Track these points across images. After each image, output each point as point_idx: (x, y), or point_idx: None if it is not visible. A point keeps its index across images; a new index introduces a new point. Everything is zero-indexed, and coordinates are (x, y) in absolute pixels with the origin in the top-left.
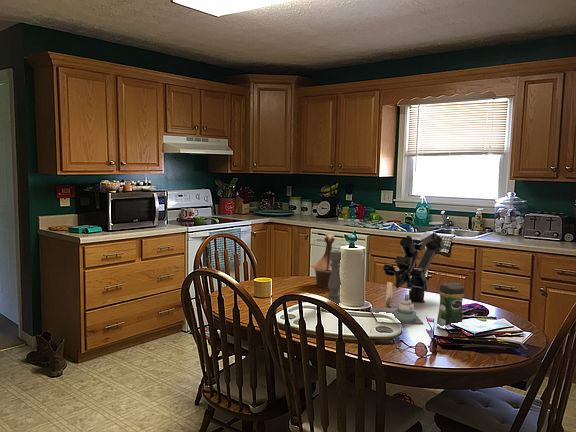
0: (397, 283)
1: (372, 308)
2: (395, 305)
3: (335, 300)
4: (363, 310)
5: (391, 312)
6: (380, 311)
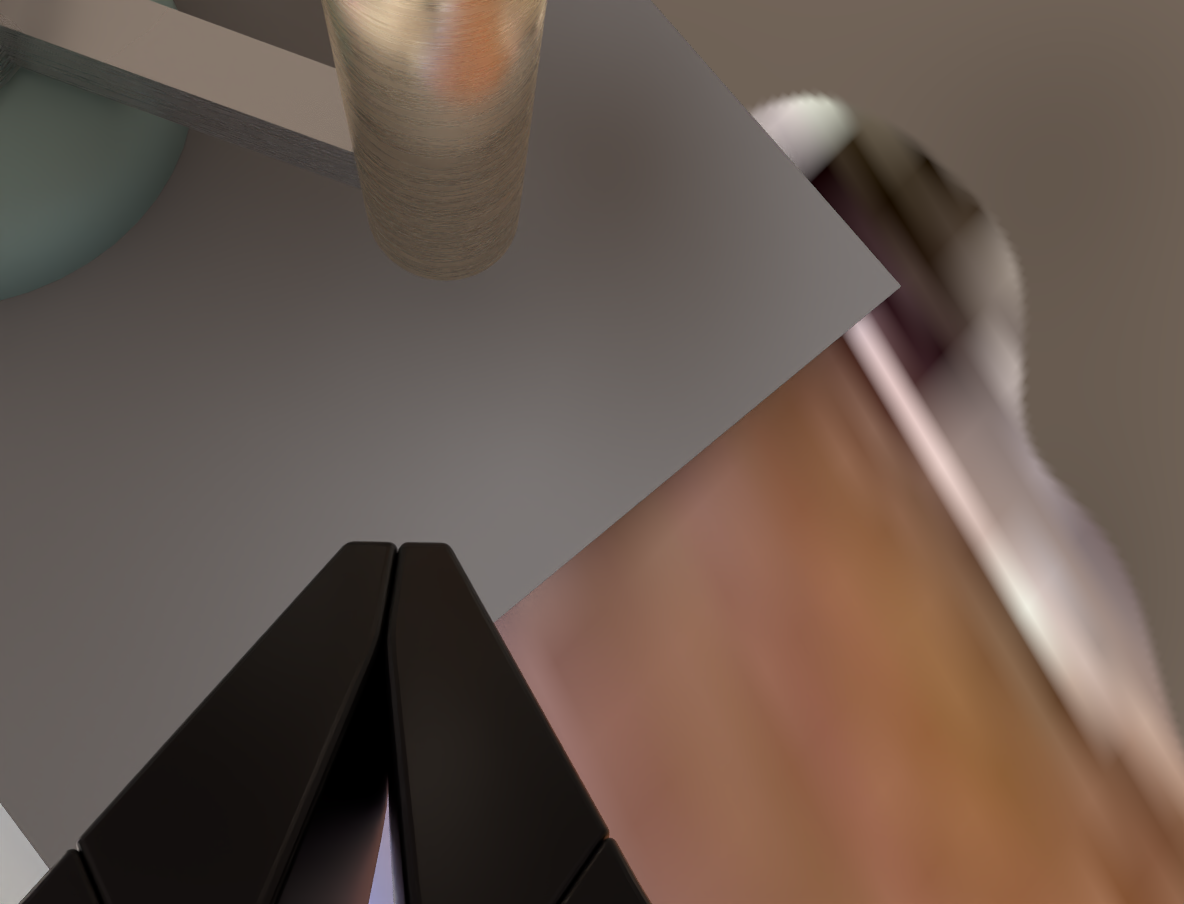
0: (391, 653)
1: (833, 295)
2: (161, 6)
3: None
4: (917, 150)
5: (387, 314)
6: (602, 216)
